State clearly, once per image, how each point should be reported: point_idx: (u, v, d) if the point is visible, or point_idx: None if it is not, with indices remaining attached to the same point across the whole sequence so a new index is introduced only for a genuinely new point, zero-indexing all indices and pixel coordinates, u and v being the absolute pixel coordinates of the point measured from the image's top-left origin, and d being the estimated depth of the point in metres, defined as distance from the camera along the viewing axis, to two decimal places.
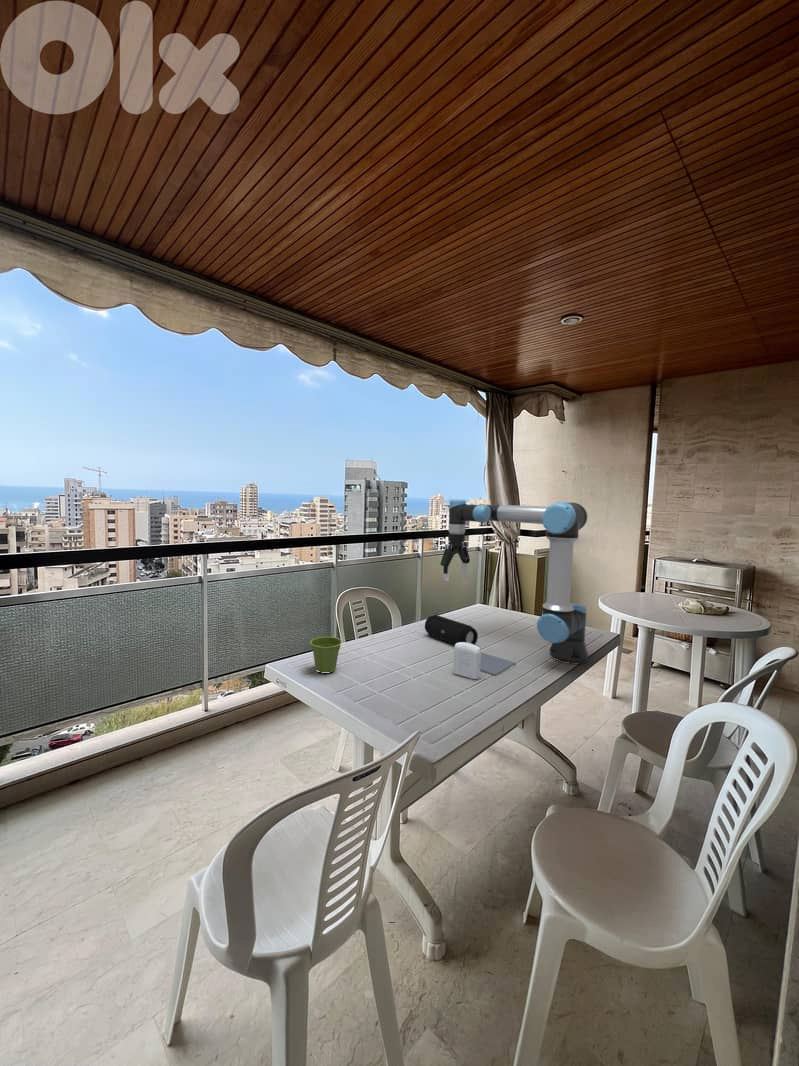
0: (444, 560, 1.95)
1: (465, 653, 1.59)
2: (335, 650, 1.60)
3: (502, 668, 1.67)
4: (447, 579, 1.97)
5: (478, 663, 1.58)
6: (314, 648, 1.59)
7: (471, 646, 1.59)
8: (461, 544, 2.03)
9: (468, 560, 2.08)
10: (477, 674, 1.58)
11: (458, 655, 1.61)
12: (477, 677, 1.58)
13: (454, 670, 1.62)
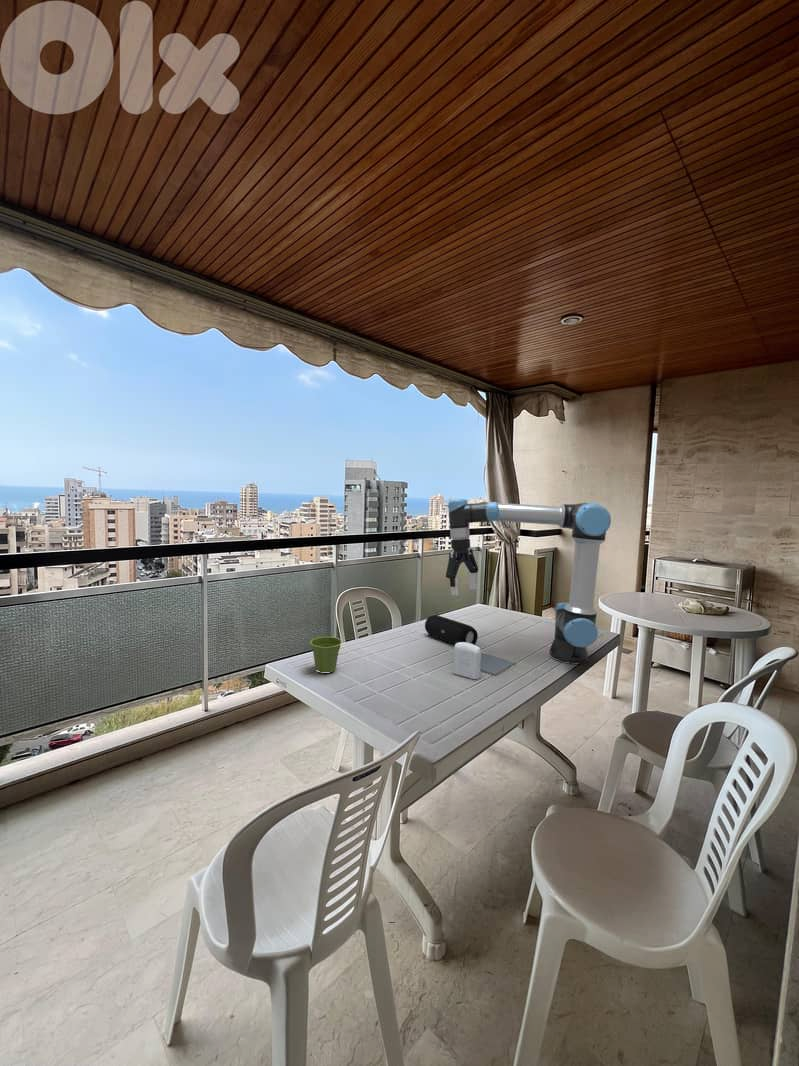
0: (450, 571, 1.66)
1: (465, 653, 1.59)
2: (335, 650, 1.59)
3: (502, 668, 1.67)
4: (455, 593, 1.67)
5: (478, 663, 1.58)
6: (314, 648, 1.59)
7: (471, 646, 1.59)
8: (467, 551, 1.74)
9: (476, 569, 1.79)
10: (477, 674, 1.58)
11: (458, 655, 1.61)
12: (477, 677, 1.58)
13: (454, 670, 1.62)
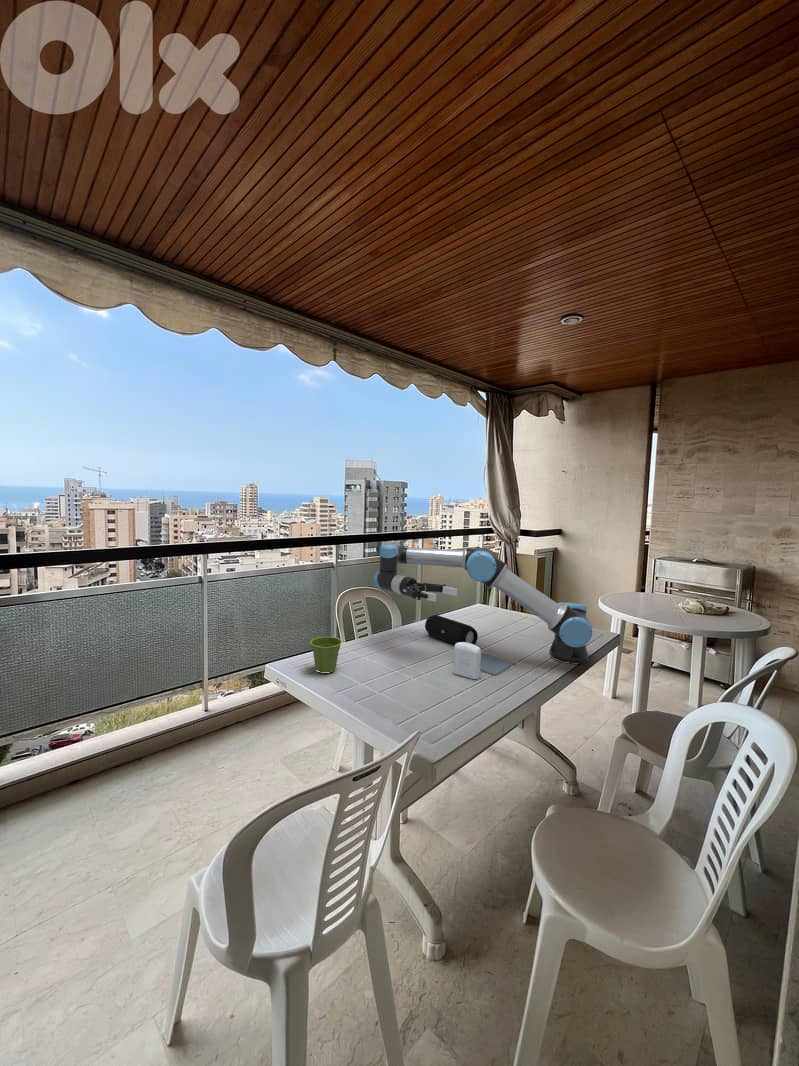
0: (411, 593, 1.66)
1: (465, 653, 1.59)
2: (335, 650, 1.60)
3: (502, 668, 1.67)
4: (433, 595, 1.62)
5: (478, 663, 1.58)
6: (314, 648, 1.59)
7: (471, 646, 1.59)
8: None
9: None
10: (477, 674, 1.58)
11: (458, 655, 1.61)
12: (477, 677, 1.58)
13: (454, 670, 1.62)
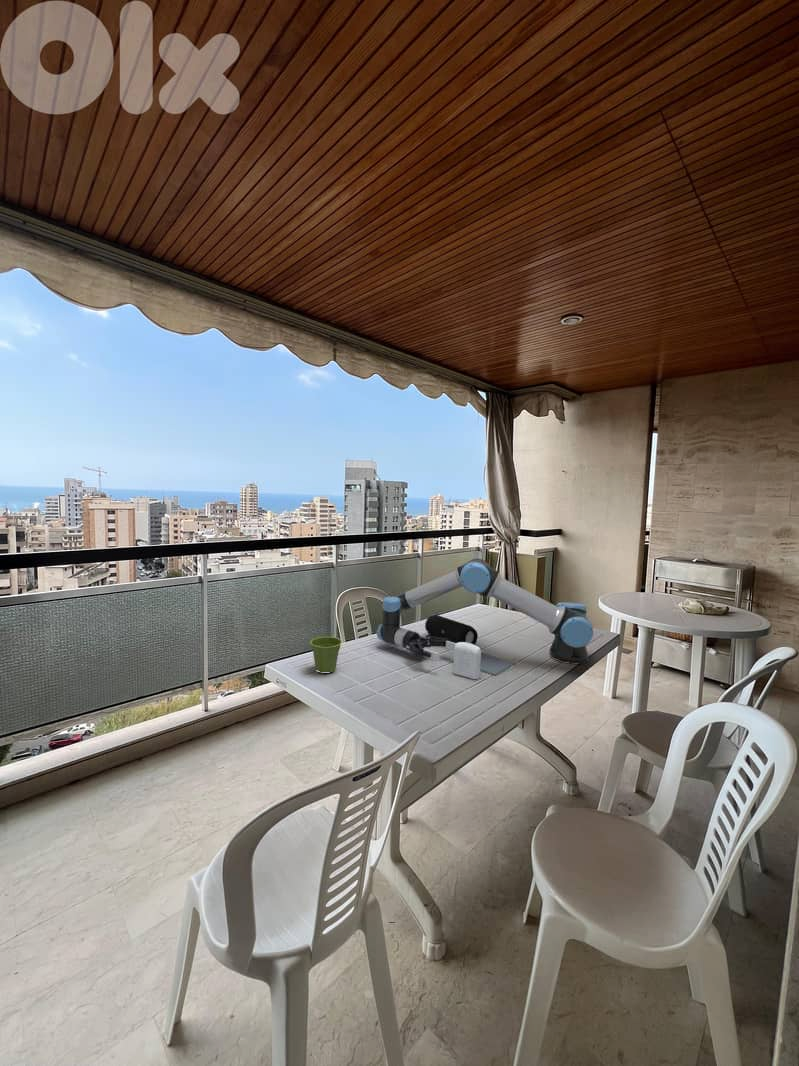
0: (414, 651, 1.66)
1: (465, 653, 1.59)
2: (335, 650, 1.60)
3: (502, 668, 1.67)
4: (436, 655, 1.61)
5: (478, 663, 1.58)
6: (314, 648, 1.59)
7: (471, 646, 1.59)
8: None
9: None
10: (477, 674, 1.58)
11: (458, 655, 1.61)
12: (477, 677, 1.58)
13: (454, 670, 1.62)
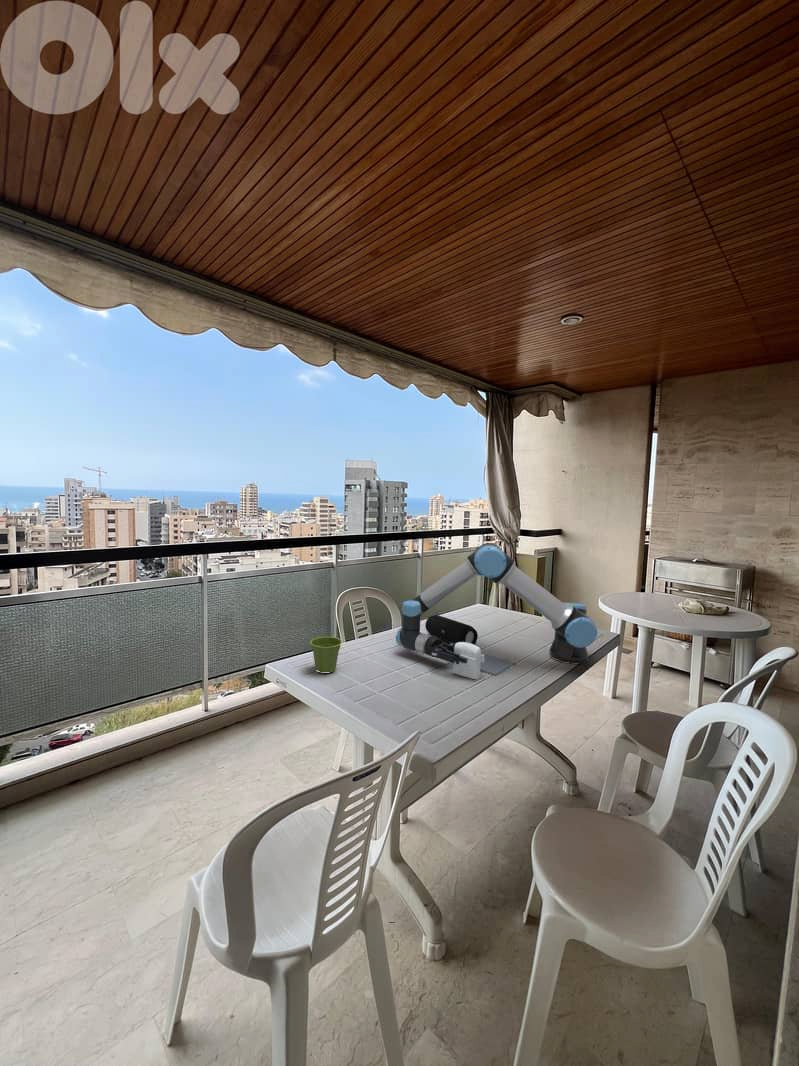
0: (448, 657, 1.59)
1: (465, 653, 1.59)
2: (335, 650, 1.60)
3: (502, 668, 1.67)
4: (473, 660, 1.56)
5: (478, 663, 1.58)
6: (314, 648, 1.59)
7: (471, 646, 1.59)
8: None
9: None
10: (477, 674, 1.58)
11: None
12: (477, 677, 1.58)
13: (454, 670, 1.62)
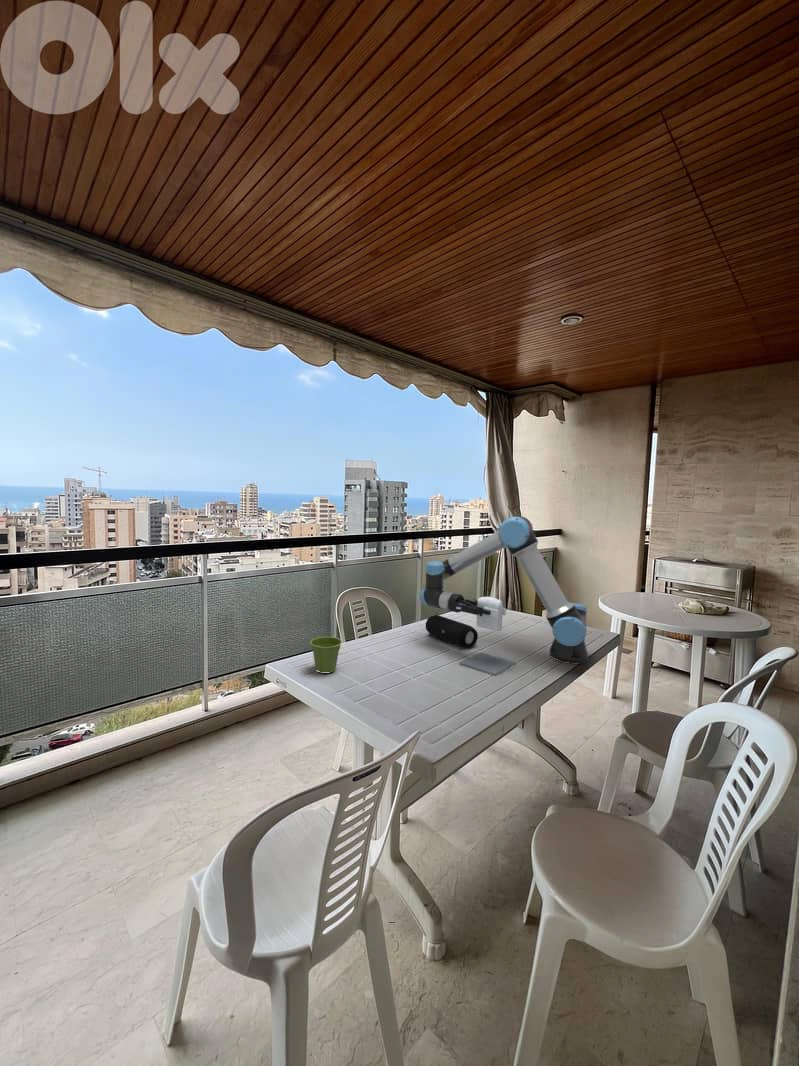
0: (472, 610, 1.69)
1: (487, 606, 1.69)
2: (335, 650, 1.59)
3: (502, 668, 1.67)
4: (496, 612, 1.66)
5: (500, 615, 1.67)
6: (314, 648, 1.59)
7: (493, 599, 1.69)
8: None
9: None
10: (499, 626, 1.68)
11: None
12: (499, 629, 1.68)
13: (477, 623, 1.73)
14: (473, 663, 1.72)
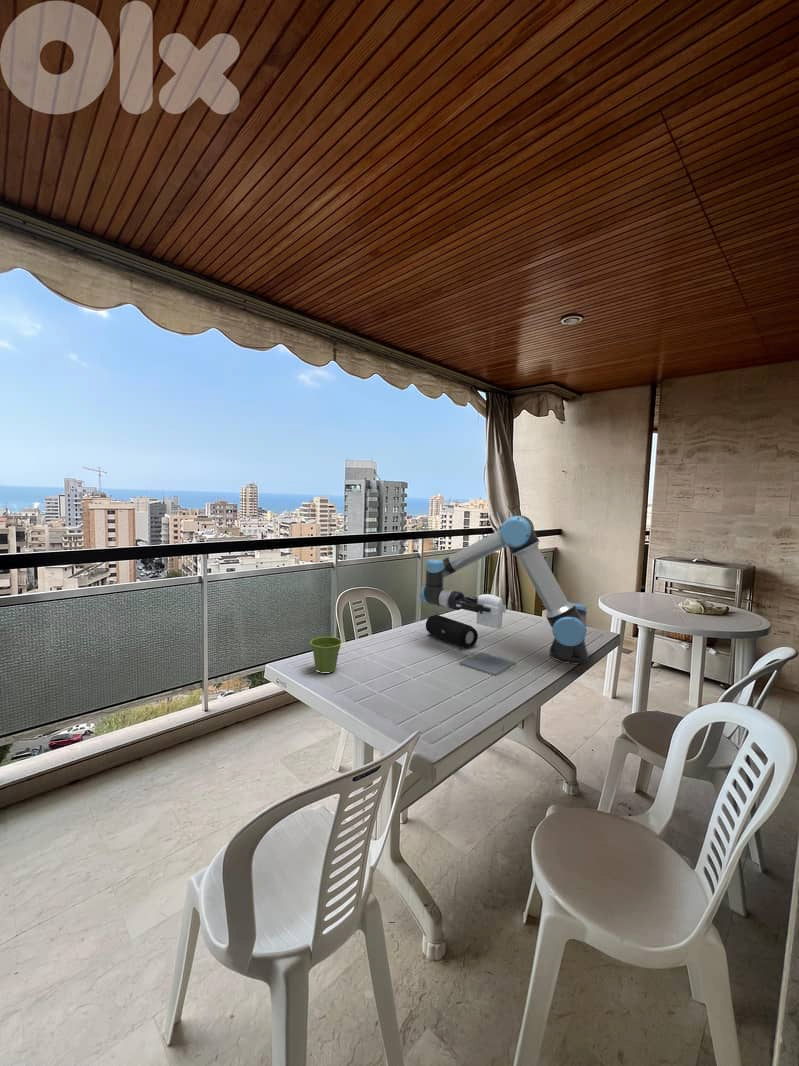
0: (473, 607, 1.69)
1: (487, 603, 1.69)
2: (335, 650, 1.60)
3: (502, 668, 1.67)
4: (496, 609, 1.66)
5: (500, 613, 1.67)
6: (314, 648, 1.59)
7: (493, 597, 1.68)
8: None
9: None
10: (499, 623, 1.68)
11: None
12: (499, 626, 1.68)
13: (477, 620, 1.72)
14: (473, 663, 1.72)
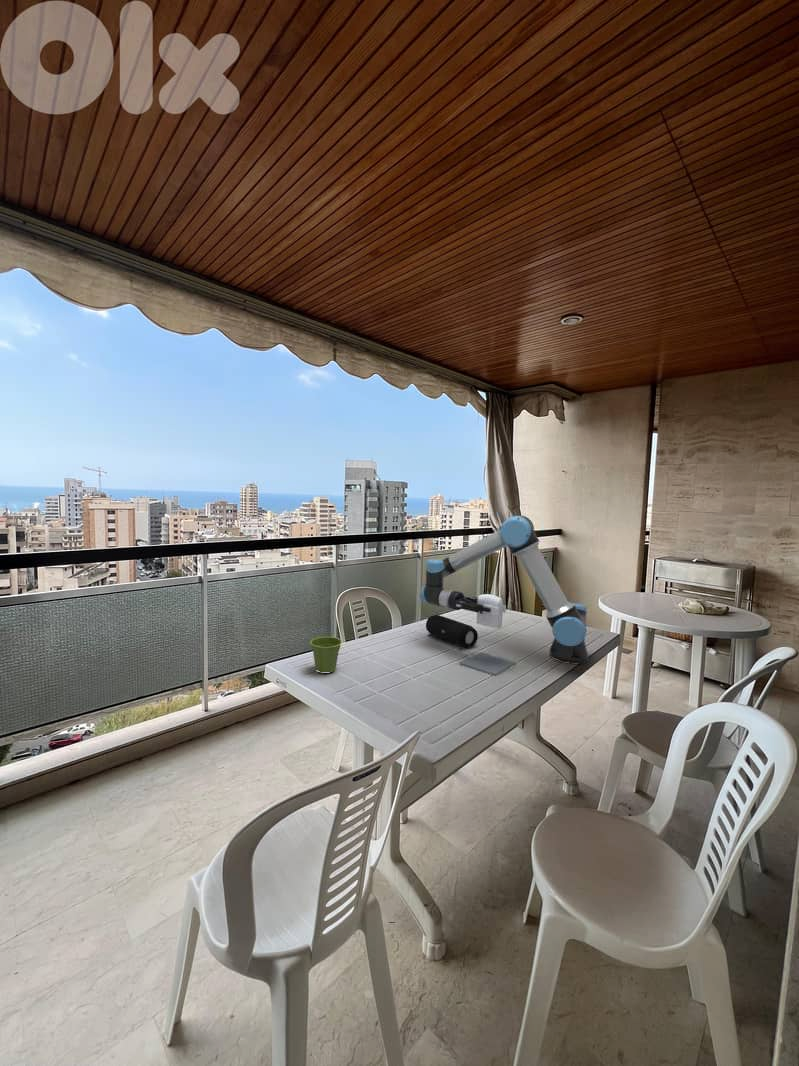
0: (473, 607, 1.69)
1: (487, 603, 1.69)
2: (335, 650, 1.59)
3: (502, 668, 1.67)
4: (496, 609, 1.66)
5: (500, 613, 1.67)
6: (314, 648, 1.59)
7: (493, 597, 1.68)
8: None
9: None
10: (499, 623, 1.68)
11: None
12: (499, 626, 1.68)
13: (477, 620, 1.72)
14: (473, 663, 1.72)
